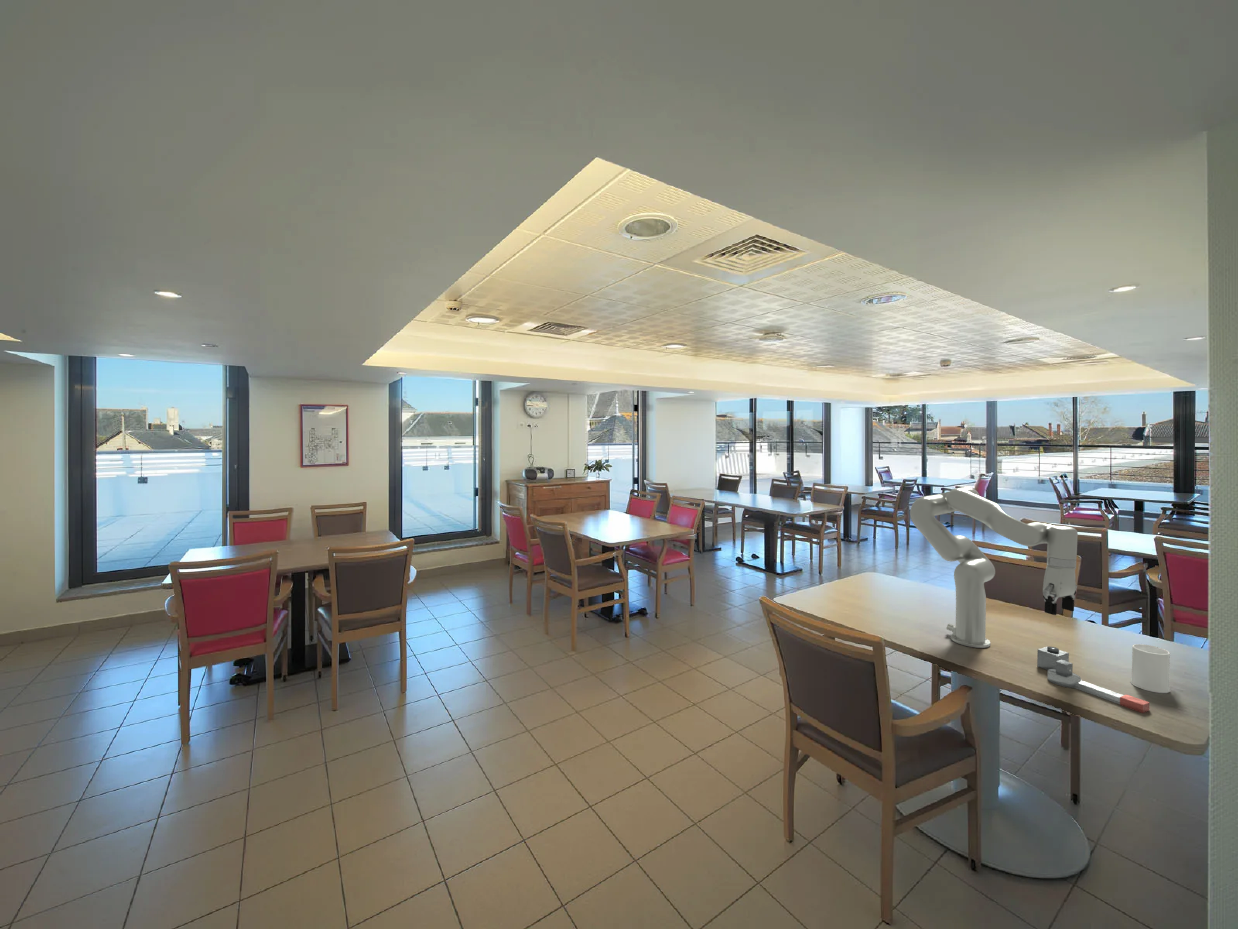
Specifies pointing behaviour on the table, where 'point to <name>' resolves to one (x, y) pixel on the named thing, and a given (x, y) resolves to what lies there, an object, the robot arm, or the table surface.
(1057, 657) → the cube with domed knob
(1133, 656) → the mug
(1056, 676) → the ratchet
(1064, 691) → the table surface
